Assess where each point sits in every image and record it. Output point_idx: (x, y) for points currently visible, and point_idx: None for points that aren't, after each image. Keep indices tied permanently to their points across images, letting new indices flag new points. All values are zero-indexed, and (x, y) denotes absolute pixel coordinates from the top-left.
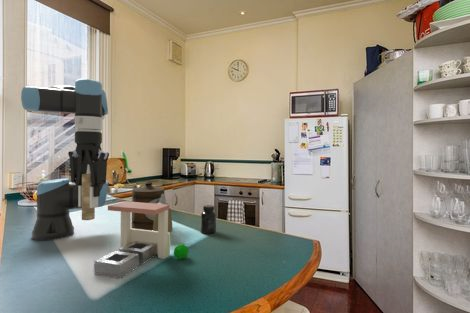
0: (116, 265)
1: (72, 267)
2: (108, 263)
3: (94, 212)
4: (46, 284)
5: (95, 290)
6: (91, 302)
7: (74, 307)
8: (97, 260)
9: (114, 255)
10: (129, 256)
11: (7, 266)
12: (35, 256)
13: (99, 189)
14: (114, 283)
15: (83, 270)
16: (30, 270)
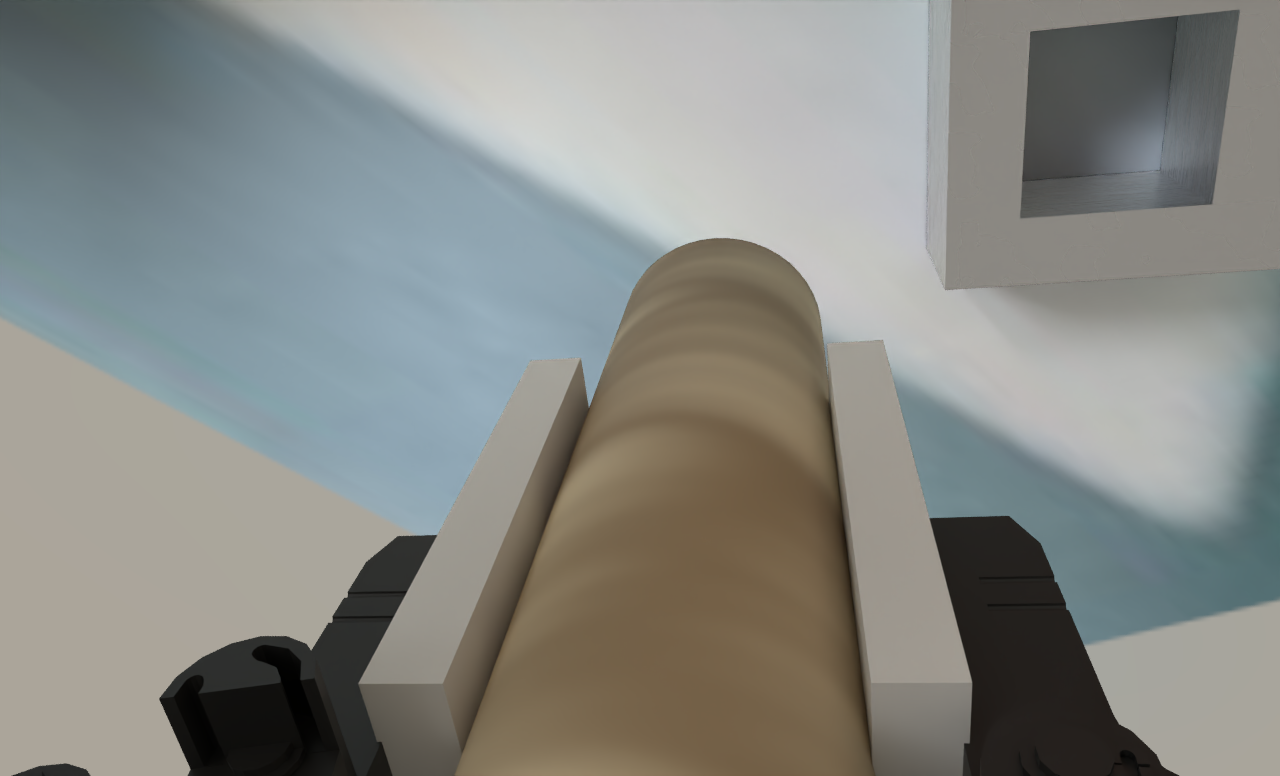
0: (1221, 267)
1: (623, 213)
2: (1122, 277)
3: (811, 325)
4: None
5: (1133, 441)
6: (1216, 558)
7: (1146, 622)
8: (964, 268)
9: (1026, 60)
10: (1254, 35)
11: (168, 389)
12: (100, 167)
13: (1083, 666)
14: (1216, 310)
15: (767, 222)
16: (385, 377)
